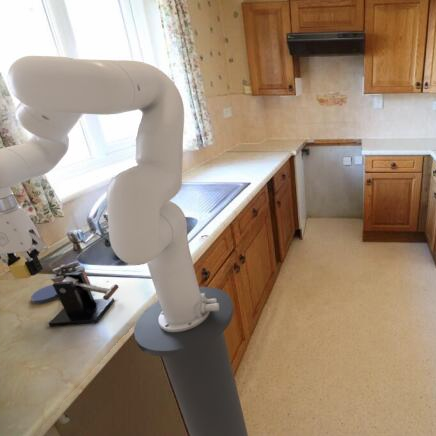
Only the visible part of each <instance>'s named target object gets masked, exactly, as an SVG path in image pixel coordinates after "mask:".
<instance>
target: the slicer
mask: <svg viewBox="0 0 436 436" xmlns="http://www.w3.org/2000/svg"><path fill="white" fill-rule="evenodd" d="M63 277H64V279H65V278H66V277H71V278H76V279H79V283H83V284H87V282H86V280H85V278H84V275H83V273H82V272H78V273H65V274H64V275H63ZM52 285H53V287H54V289H55V291H56V293H57V295H58V299H59V301H60V303H61V306H62V307H63V308H62V309H61V310H60V311H59V312H58V313H57V314H56V315H55V316H54V317H53V318H52V319H51V320H50V321H49V322H48V326H49V327H50V328H52V327H53V328H55V327H66V326H67V327H68V326H78V325H79V326H80V325H90V324H91V325H92V324H98V322H99V321H100V320H101V319H102V318H103V316H104V315H105V314H106V313H107V311H108V310H109V309H110V308H111V306H112V305H113V304H114V303H115V298H114V297H110V298H109V299H108V300H104V299H103V298H94V296H93V293H92V291H89V290H84V289H79V288H75V285H74V283H73V281H67V282H55V283H54V282H53V283H52Z"/></svg>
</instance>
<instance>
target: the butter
mask: <svg viewBox="0 0 436 436" xmlns="http://www.w3.org/2000/svg"><path fill="white" fill-rule="evenodd" d="M25 262H26V259H25V258H24V256H22V257H20V259H19V260H18V261H16V262H15V263H13V264H12V265H10V266H8V269H9V270H10V272H11V274H12V276H13V275H14V276H13V278H14V280H15V279H17V280H18V279H19V280H20V279H29V278H31V277H32V275H31V274H30V272H29V270H28V268H27V266H26V264H25Z"/></svg>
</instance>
